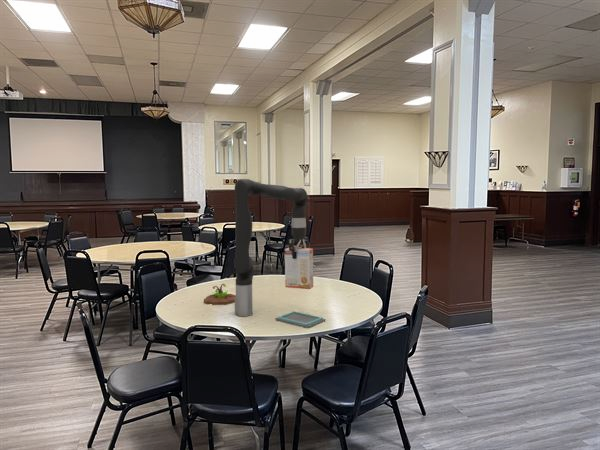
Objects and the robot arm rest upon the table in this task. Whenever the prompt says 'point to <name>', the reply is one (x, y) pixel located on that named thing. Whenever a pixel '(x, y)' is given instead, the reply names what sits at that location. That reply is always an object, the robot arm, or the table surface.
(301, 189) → the robot arm
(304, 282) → the cracker box
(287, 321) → the baseplate
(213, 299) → the plant
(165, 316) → the table surface
